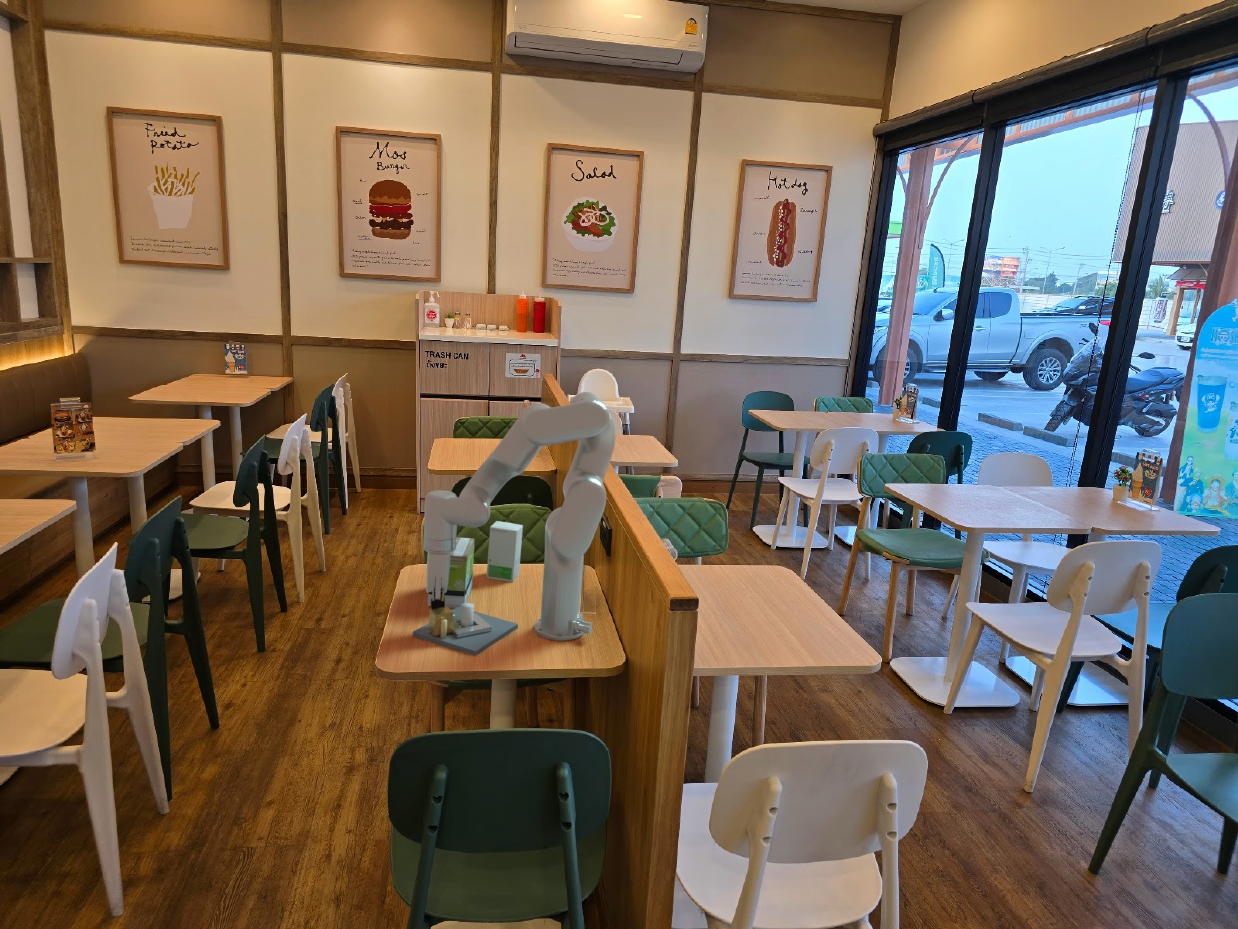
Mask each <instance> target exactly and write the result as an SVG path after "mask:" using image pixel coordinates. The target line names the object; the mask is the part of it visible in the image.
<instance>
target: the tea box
mask: <svg viewBox="0 0 1238 929" xmlns="http://www.w3.org/2000/svg"><path fill="white" fill-rule="evenodd" d="M474 557H475V538H470V537H469V538H468V537H457V536H456V550H455V551H453V552H451V554H450V571H449V580H448V587H447V592H445V593H444V598H445V607H448V608H450V609H455V608H457V607H461V605H462V604H464V603H468V602H467V601H468V598H469V596H470V593H471V590H472V589H473V576H474V560H475V559H474ZM431 598H432V592H429V593H427V607H431Z"/></svg>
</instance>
